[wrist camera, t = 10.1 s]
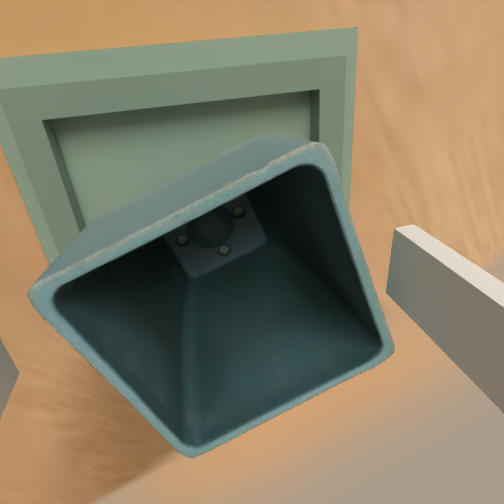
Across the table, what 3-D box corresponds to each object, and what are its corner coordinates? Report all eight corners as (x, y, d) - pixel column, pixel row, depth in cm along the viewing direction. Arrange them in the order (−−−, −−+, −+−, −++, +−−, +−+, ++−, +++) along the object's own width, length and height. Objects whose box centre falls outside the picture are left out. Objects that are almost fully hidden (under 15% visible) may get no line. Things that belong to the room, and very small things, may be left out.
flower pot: (252, 100, 17) (328, 133, 9) (313, 249, 21) (400, 358, 13) (83, 187, 17) (14, 295, 9) (178, 317, 21) (186, 464, 14)
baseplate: (93, 351, 23) (86, 381, 20) (-19, 61, 15) (-49, 61, 13) (336, 302, 25) (352, 324, 23) (346, 29, 17) (370, 25, 15)
